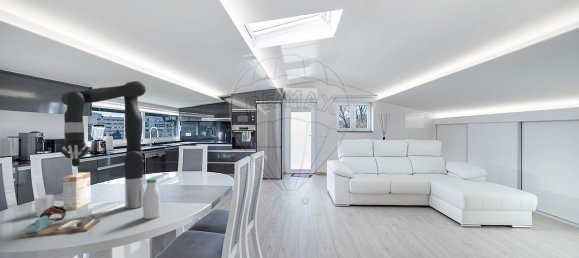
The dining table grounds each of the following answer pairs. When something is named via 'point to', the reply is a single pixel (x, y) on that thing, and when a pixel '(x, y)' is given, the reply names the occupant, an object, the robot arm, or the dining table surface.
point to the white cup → (43, 203)
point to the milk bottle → (151, 200)
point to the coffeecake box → (76, 190)
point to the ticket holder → (66, 227)
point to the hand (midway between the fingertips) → (75, 166)
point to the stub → (39, 225)
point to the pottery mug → (54, 211)
